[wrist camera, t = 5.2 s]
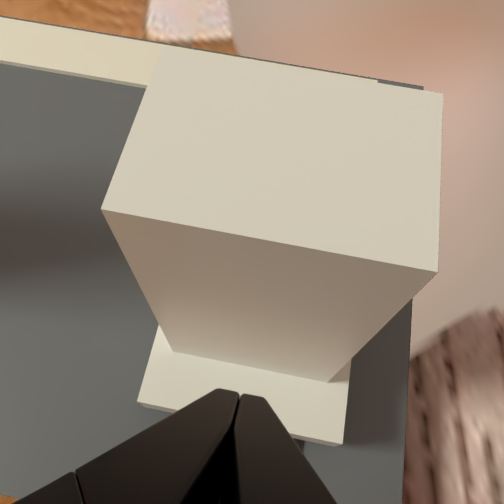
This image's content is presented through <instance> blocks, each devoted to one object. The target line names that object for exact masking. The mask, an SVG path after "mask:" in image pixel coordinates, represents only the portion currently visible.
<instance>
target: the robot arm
mask: <svg viewBox="0 0 504 504" xmlns="http://www.w3.org/2000/svg"><path fill="white" fill-rule="evenodd" d="M12 504H337V502H336V501H335V499H334V498H333V496H332V495H331V494H330V492H329V491H328V489H327V488H326V486H325V485H324V483H323V482H322V480H321V479H320V477H319V476H318V475H317V473H316V472H315V470H314V469H313V467H312V466H311V464H310V463H309V461H308V460H307V458H306V457H305V456H304V454H303V453H302V451H301V450H300V448H299V447H298V445H297V444H296V442H295V441H294V439H293V438H292V437H291V435H290V434H289V432H288V431H287V429H286V428H285V426H284V425H283V423H282V422H281V420H280V419H279V418H278V416H277V415H276V413H275V412H274V410H273V409H272V407H271V406H270V404H269V403H268V401H267V400H266V399H265V398H264V397H261V396H256V395H251V394H246V393H244V394H242V395H241V396H240V394H239V393H238V392H236V391H231V390H226V389H222V388H217V389H214V390H213V391H211V392H209V393H207V394H206V395H204V396H202V397H200V398H199V399H197V400H195V401H194V402H192V403H190V404H188V405H187V406H185V407H183V408H181V409H180V410H178V411H176V412H174V413H173V414H171V415H169V416H167V417H166V418H164V419H162V420H161V421H159V422H157V423H155V424H154V425H152V426H150V427H148V428H147V429H145V430H143V431H141V432H140V433H138V434H136V435H135V436H133V437H131V438H129V439H128V440H126V441H124V442H122V443H121V444H119V445H117V446H115V447H114V448H112V449H110V450H108V451H107V452H105V453H103V454H102V455H100V456H98V457H96V458H95V459H93V460H91V461H89V462H88V463H86V464H84V465H82V466H81V467H79V468H77V469H76V470H75V471H74V472H68V473H67V474H65V475H63V476H61V477H60V478H58V479H56V480H54V481H53V482H51V483H49V484H47V485H46V486H44V487H42V488H40V489H38V490H36V491H35V492H33V493H31V494H29V495H27V496H25V497H23V498H22V499H20V500H18V501H16V502H14V503H12Z"/></svg>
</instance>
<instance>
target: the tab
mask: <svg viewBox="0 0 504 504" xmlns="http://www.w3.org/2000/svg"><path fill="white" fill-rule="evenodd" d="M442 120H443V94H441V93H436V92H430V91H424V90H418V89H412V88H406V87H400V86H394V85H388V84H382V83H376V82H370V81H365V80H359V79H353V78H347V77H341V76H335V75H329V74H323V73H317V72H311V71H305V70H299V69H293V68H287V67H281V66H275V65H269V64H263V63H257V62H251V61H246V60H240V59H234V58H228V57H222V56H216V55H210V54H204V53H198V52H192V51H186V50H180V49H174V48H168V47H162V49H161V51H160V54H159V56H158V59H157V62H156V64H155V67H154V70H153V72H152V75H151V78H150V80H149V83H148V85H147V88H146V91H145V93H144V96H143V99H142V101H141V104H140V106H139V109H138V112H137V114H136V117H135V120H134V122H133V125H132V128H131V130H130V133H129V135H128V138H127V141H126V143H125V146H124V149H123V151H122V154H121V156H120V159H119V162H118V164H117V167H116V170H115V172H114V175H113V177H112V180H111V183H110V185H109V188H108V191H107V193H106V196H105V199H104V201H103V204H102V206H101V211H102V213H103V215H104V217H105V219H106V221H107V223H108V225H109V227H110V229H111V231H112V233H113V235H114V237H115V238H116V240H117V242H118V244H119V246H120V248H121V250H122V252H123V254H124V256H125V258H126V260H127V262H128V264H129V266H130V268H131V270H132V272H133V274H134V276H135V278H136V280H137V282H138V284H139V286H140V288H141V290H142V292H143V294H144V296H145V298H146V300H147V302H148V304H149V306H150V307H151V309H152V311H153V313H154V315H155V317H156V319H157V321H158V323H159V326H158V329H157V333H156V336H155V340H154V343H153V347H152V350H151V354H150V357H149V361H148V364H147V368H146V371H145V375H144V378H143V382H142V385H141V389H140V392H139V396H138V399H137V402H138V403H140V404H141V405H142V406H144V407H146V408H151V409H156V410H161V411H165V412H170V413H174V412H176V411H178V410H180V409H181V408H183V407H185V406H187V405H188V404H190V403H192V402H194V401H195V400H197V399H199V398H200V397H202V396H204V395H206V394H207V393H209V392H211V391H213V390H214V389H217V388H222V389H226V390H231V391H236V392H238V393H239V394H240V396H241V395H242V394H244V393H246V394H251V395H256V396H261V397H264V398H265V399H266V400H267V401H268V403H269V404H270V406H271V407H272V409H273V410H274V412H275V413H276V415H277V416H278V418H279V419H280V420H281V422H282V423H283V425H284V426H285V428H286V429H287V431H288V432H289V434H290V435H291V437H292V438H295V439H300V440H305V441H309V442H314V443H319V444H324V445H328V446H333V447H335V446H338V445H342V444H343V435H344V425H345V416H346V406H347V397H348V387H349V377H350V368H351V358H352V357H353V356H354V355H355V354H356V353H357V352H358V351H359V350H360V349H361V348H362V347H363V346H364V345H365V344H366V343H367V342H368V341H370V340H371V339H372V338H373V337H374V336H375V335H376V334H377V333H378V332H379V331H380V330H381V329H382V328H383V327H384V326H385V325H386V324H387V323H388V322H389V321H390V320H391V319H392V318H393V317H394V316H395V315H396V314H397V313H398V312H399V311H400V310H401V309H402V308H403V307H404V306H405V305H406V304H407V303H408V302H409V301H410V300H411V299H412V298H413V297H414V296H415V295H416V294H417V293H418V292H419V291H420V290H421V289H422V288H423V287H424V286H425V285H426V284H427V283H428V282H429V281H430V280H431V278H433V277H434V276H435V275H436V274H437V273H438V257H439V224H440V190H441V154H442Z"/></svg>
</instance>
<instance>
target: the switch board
mask: <svg viewBox="0 0 504 504" xmlns="http://www.w3.org/2000/svg"><path fill="white" fill-rule="evenodd" d="M162 47H168V48H174V49H180V50H186V51H192V52H198V53H204V54H210V55H216V56H222V57H228V58H234V59H240V60H246V61H251V62H257V63H263V64H269V65H275V66H281V67H287V68H293V69H299V70H305V71H311V72H317V73H323V74H329V75H335V76H341V77H347V78H353V79H359V80H365V81H370V82H376V83H382V84H388V85H394V86H400V87H406V88H412V89H418V90H423V86H417V85H411V84H406V83H399V82H393V81H388V80H382V79H376V78H370V77H363V76H358V75H351V74H346V73H340V72H334V71H328V70H322V69H316V68H310V67H304V66H298V65H292V64H286V63H280V62H274V61H268V60H262V59H256V58H250V57H244V56H238V55H233V54H227V53H221V52H215V51H209V50H203V49H197V48H191V47H185V46H179V45H173V44H167V43H161V42H155V41H149V40H143V39H137V38H131V37H125V36H119V35H113V34H107V33H101V32H95V31H89V30H83V29H77V28H71V27H65V26H60V25H54V24H48V23H42V22H36V21H30V20H24V19H18V18H12V17H6V16H0V495H5V496H9V497H14V498H18V499H22V498H23V497H25V496H27V495H29V494H31V493H33V492H35V491H36V490H38V489H40V488H42V487H44V486H46V485H47V484H49V483H51V482H53V481H54V480H56V479H58V478H60V477H61V476H63V475H65V474H67V473H68V472H74V471H75V470H76V469H77V468H79V467H81V466H82V465H84V464H86V463H88V462H89V461H91V460H93V459H95V458H96V457H98V456H100V455H102V454H103V453H105V452H107V451H108V450H110V449H112V448H114V447H115V446H117V445H119V444H121V443H122V442H124V441H126V440H128V439H129V438H131V437H133V436H135V435H136V434H138V433H140V432H141V431H143V430H145V429H147V428H148V427H150V426H152V425H154V424H155V423H157V422H159V421H161V420H162V419H164V418H166V417H167V416H169V415H171V414H173V413H170V412H165V411H161V410H156V409H151V408H146V407H144V406H142V405H141V404H140V403H138V402H137V399H138V396H139V392H140V389H141V385H142V382H143V378H144V375H145V371H146V368H147V364H148V361H149V357H150V354H151V350H152V347H153V343H154V340H155V336H156V333H157V329H158V326H159V323H158V321H157V319H156V317H155V315H154V313H153V311H152V309H151V307H150V306H149V304H148V302H147V300H146V298H145V296H144V294H143V292H142V290H141V288H140V286H139V284H138V282H137V280H136V278H135V276H134V274H133V272H132V270H131V268H130V266H129V264H128V262H127V260H126V258H125V256H124V254H123V252H122V250H121V248H120V246H119V244H118V242H117V240H116V238H115V237H114V235H113V233H112V231H111V229H110V227H109V225H108V223H107V221H106V219H105V217H104V215H103V213H102V211H101V206H102V204H103V201H104V199H105V196H106V193H107V191H108V188H109V185H110V183H111V180H112V177H113V175H114V172H115V170H116V167H117V164H118V162H119V159H120V156H121V154H122V151H123V149H124V146H125V143H126V141H127V138H128V135H129V133H130V130H131V128H132V125H133V122H134V120H135V117H136V114H137V112H138V109H139V106H140V104H141V101H142V99H143V96H144V93H145V91H146V88H147V85H148V83H149V80H150V78H151V75H152V72H153V70H154V67H155V64H156V62H157V59H158V56H159V54H160V51H161V49H162ZM411 317H412V299H411V300H410V301H409V302H408V303H407V304H406V305H405V306H404V307H403V308H402V309H401V310H400V311H399V312H398V313H397V314H396V315H395V316H394V317H393V318H392V319H391V320H390V321H389V322H388V323H387V324H386V325H385V326H384V327H383V328H382V329H381V330H380V331H379V332H378V333H377V334H376V335H375V336H374V337H373V338H372V339H371V340H370V341H368V342H367V343H366V344H365V345H364V346H363V347H362V348H361V349H360V350H359V351H358V352H357V353H356V354H355V355H354V356H353V357H352V358H351V368H350V377H349V387H348V397H347V406H346V416H345V425H344V435H343V444H342V445H338V446H335V447H333V446H328V445H324V444H319V443H314V442H309V441H305V440H300V439H295V438H293V439H294V441H295V442H296V444H297V445H298V447H299V448H300V450H301V451H302V453H303V454H304V456H305V457H306V458H307V460H308V461H309V463H310V464H311V466H312V467H313V469H314V470H315V472H316V473H317V475H318V476H319V477H320V479H321V480H322V482H323V483H324V485H325V486H326V488H327V489H328V491H329V492H330V494H331V495H332V496H333V498H334V499H335V501H336V502H337V504H402V489H403V470H404V451H405V432H406V413H407V394H408V375H409V356H410V336H411Z"/></svg>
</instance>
